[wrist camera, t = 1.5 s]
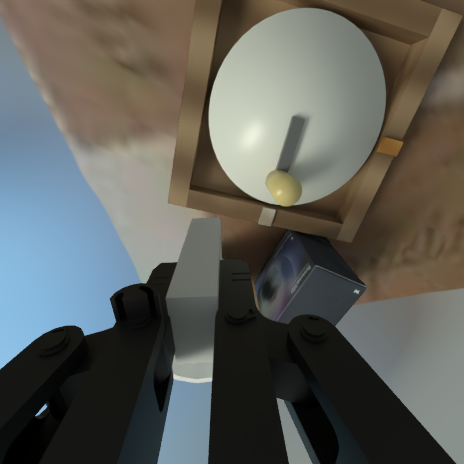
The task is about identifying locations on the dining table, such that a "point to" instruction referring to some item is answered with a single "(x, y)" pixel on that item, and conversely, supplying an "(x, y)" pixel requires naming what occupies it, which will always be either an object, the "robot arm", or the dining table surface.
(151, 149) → the dining table surface
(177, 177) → the housing
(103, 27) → the dining table surface
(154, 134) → the dining table surface
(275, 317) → the small box
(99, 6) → the dining table surface
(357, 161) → the dial
